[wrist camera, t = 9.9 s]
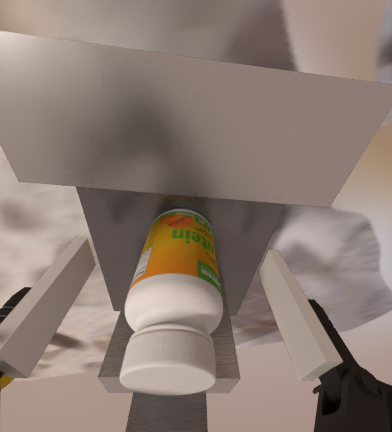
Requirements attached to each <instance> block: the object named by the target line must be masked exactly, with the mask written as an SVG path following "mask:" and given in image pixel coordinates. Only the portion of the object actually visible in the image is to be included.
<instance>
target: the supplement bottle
mask: <svg viewBox="0 0 392 432" xmlns="http://www.w3.org/2000/svg"><path fill="white" fill-rule="evenodd" d="M222 315H223V302H222V294H221V287H220V281H219V274H218V267H217V260H216V254H215V247H214V239H213V233H212V229H211V226H210V224H209V222H208V221H207V220H206V219H205V218H204V217H203V216H202V215H200V214H199V213H197V212H195V211H192V210H188V209H173V210H169V211H166V212H164V213H162V214H161V215H159V216H158V217H157V218H156V219H155V221H154V222H153V224H152V226H151V228H150V231H149V234H148V237H147V240H146V242H145V245H144V248H143V251H142V254H141V257H140V260H139V263H138V266H137V269H136V272H135V275H134V278H133V281H132V283H131V286H130V289H129V292H128V295H127V299H126V302H125V317H126V320H127V322H128V324H129V326H130V327H131V328H132V329H133V330H134V331H135V333H134V334H133V335H132V336H131V338H130V340H129V343H128V344H127V347H126V352H125V356H124V360H123V364H122V368H121V372H120V377H119V378H120V382H121V384H122V385H123V386H125V387H126V388H128V389H131V390H134V391H137V392H141V393H146V394H152V395H185V394H192V393H196V392H200V391H204V390H207V389H208V388H210V387H212V386H213V385H214V384H215V382H216V363H215V349H214V346H213V339H212V338H211V336H210V335H209V334H211V333H212V332H213V331H214V330H215V329H216V328H217V326H218V325H219V323H220V321H221V318H222Z"/></svg>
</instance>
